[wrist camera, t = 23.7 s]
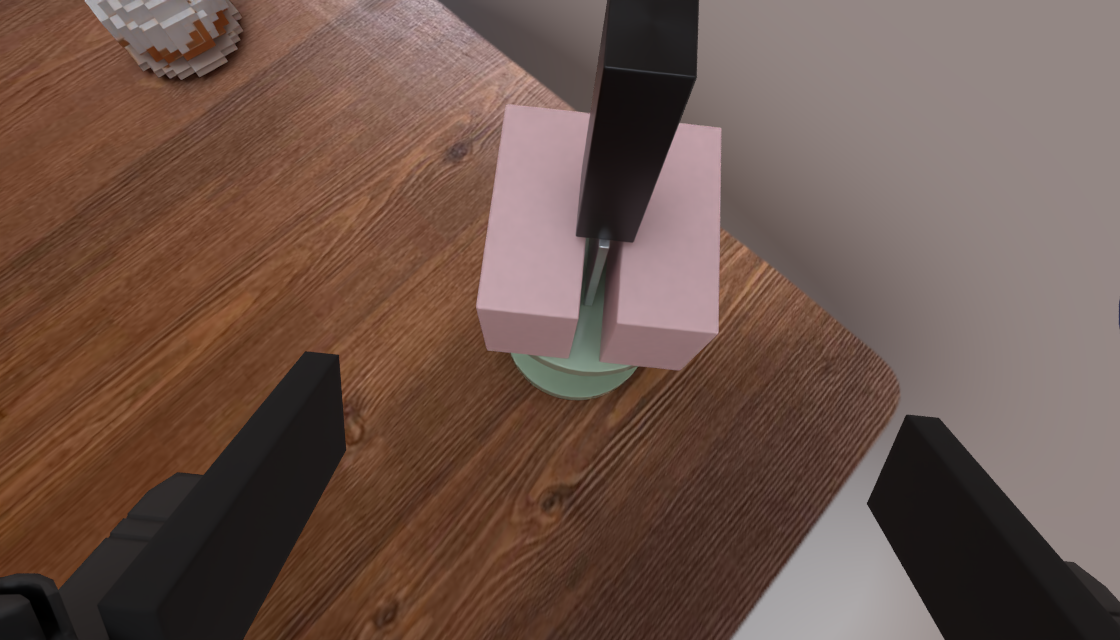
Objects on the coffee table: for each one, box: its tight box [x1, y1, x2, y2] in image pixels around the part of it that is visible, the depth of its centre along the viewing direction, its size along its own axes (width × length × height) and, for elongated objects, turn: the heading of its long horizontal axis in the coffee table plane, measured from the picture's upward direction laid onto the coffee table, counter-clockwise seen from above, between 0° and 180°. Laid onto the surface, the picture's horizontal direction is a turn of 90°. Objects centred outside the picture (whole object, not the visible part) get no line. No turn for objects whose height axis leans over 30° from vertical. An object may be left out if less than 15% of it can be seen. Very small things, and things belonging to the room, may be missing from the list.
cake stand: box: [510, 238, 638, 400], centre depth 34 cm, size 10×10×10 cm
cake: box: [476, 104, 721, 370], centre depth 27 cm, size 9×9×6 cm
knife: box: [576, 0, 699, 306], centre depth 22 cm, size 2×4×16 cm, turn 175°
